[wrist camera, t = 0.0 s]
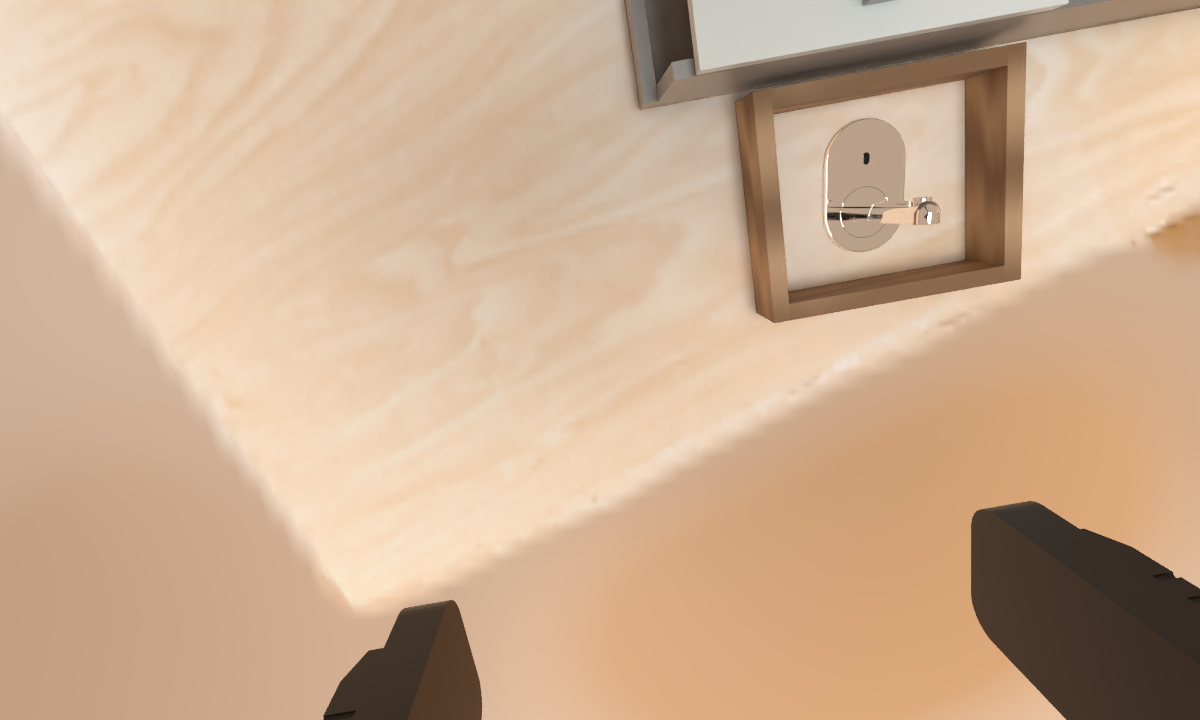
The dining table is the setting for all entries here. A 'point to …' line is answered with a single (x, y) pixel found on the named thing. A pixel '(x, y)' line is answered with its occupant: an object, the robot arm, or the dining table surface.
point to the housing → (870, 48)
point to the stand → (869, 187)
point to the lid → (827, 25)
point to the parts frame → (988, 181)
